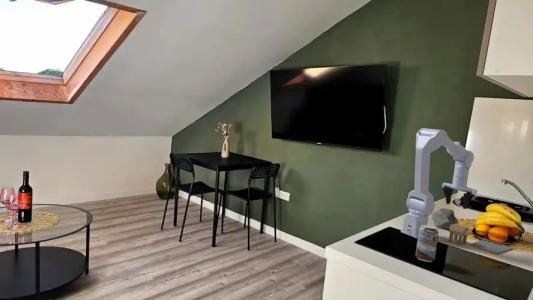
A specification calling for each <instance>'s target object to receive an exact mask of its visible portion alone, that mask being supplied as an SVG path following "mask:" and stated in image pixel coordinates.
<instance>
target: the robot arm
mask: <svg viewBox="0 0 533 300" xmlns="http://www.w3.org/2000/svg"><path fill="white" fill-rule="evenodd" d="M415 135H416V136H415V158H414V159H415V162H414V164H415V165H414V189H413V190H411V191H410V192H408V195H407V196H408V197H407V199H406V202H405V203H406V207H407V209H408V212H409V213H408V214H407V215H405V216H404V219H403V224H402V225H403V226H402V229H401V230H400V233H403V234H405V235H408V236H410V237H413V238H415V239H418V235H419V229H420V227H421V226H422V225H427V226H428V222H429V216H431V215H432V213H434V212H435V208H436V207H435V206H436V205H435V202H434V195H432V193H431V192H430V191H429V187H430V186H429V185H430V164H431V163H430V162H431V153H432V152H435V151H437V150H438V149H439V148H440V147H445V148H446V152H447V153H448V154H449V155H450V156H452V158H453V161H454V162H455V164H454V169H453V170H454V172H453V178H452V183H448V182H442V184H441V188H442V191H443V194H444V197H445V203H446V204H445V205H451V201H452V195H453V192H454V190H455V191H459V192H463V204H462V209H464V210H466V209H468V206H469V204H470V203H471V201H472V199H473V198H474V197H475V195H477V192H478V189H475V188H471V187H468V180H469V173H470V168H471V167H472V163H473V161H474V159H475V155H474V153H473V151H472V150H467V149H466V147H465V146H463V145H461V142H459V141H453V140H452V139H451V138H450V136H448V132H446V131H445V130H444V129H433V128H426V127H422V128H420V129H419V130H418V131H417V133H416V134H415Z"/></svg>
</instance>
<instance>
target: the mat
mask: <svg viewBox="0 0 533 300" xmlns="http://www.w3.org/2000/svg"><path fill="white" fill-rule="evenodd" d="M484 240H485V239H482V240H481V239H480V240H479V241H475V242H472V243H469V246H471V247H474V248H477V249H479V250H483V251H486V252H489V253H491V254H494V255H496V256H497V255H499V254H502V253H506V252H509V251H511V250H513V247H512V246H507V245H504V244H502V245H499V244H500V243H499V244H495V243H492V242H488V241H484Z"/></svg>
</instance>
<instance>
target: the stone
mask: <svg viewBox="0 0 533 300" xmlns="http://www.w3.org/2000/svg"><path fill="white" fill-rule="evenodd" d="M454 211H455V210H453V209H449V208H439V209H436V210H434V211H433V212H432V213H431V219H432V220H433V224H434V227H436V228H440V229H445V230H450V225H453V224H460V223H459V221H458V219H457V216H455V212H454Z"/></svg>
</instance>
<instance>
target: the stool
mask: <svg viewBox="0 0 533 300" xmlns="http://www.w3.org/2000/svg"><path fill="white" fill-rule="evenodd" d="M448 230H449V229H448ZM469 231H470V227H469V226H465V225H463V224H460V223H459V224H453V225H450V230H449V231H448V232H449V237H448V241H449V242H453V240H454V241H457V245H462V244H467V239H468V236H469V233H470V232H469Z"/></svg>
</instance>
